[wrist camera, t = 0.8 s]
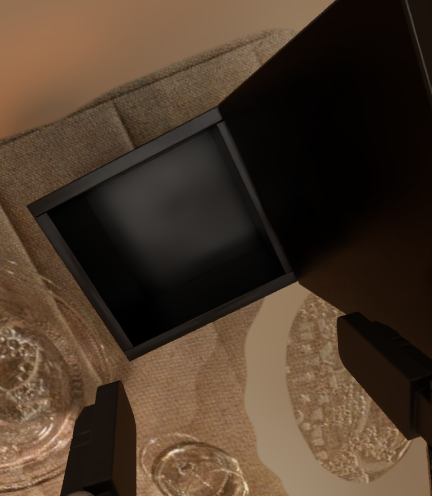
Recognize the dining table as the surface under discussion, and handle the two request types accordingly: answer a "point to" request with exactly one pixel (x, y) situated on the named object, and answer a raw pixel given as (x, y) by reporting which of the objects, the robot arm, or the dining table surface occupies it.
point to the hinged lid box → (167, 236)
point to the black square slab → (349, 158)
